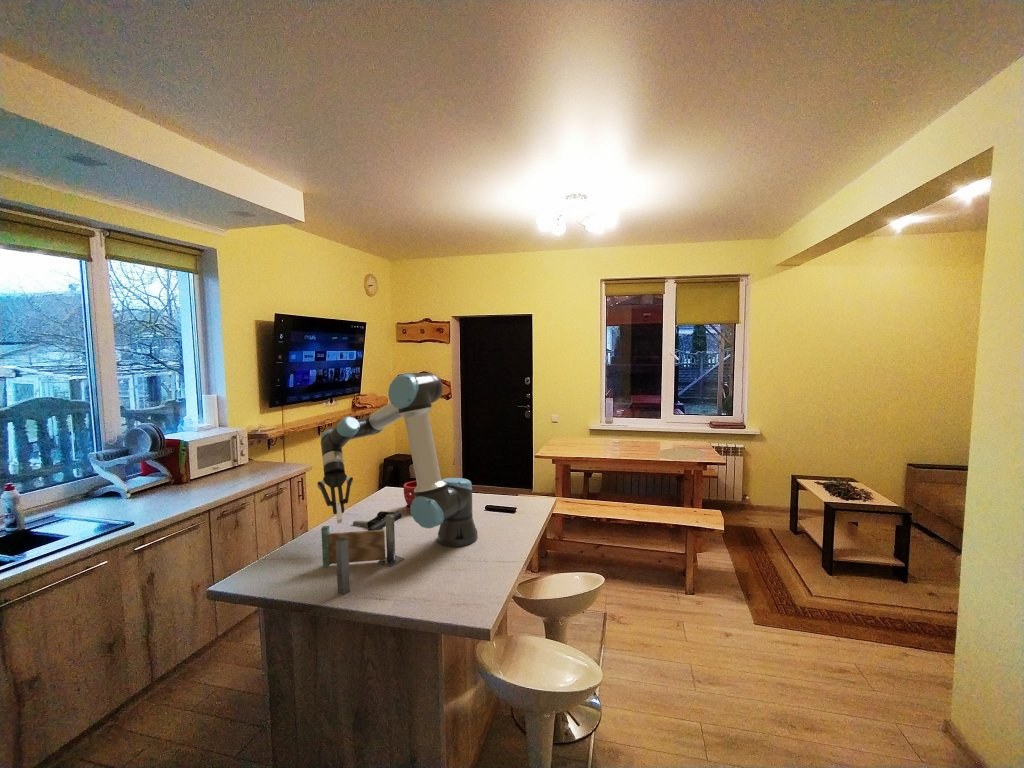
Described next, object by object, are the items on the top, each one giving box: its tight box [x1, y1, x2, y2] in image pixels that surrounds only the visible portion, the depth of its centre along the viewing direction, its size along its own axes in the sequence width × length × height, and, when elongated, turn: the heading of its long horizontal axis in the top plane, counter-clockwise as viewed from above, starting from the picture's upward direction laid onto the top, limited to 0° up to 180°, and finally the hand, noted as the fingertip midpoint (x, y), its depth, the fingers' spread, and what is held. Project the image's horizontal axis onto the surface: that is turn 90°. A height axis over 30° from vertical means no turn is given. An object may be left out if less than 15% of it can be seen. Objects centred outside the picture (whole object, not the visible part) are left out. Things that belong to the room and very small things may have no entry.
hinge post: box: [377, 514, 405, 568], centre depth 147 cm, size 6×6×16 cm
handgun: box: [352, 510, 402, 531], centre depth 182 cm, size 3×20×16 cm
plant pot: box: [403, 480, 417, 512], centre depth 199 cm, size 13×13×12 cm
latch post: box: [336, 538, 351, 596], centre depth 128 cm, size 2×2×16 cm
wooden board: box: [320, 525, 386, 567], centre depth 146 cm, size 20×2×13 cm, turn 98°
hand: (339, 521), depth 156 cm, fingers closed
